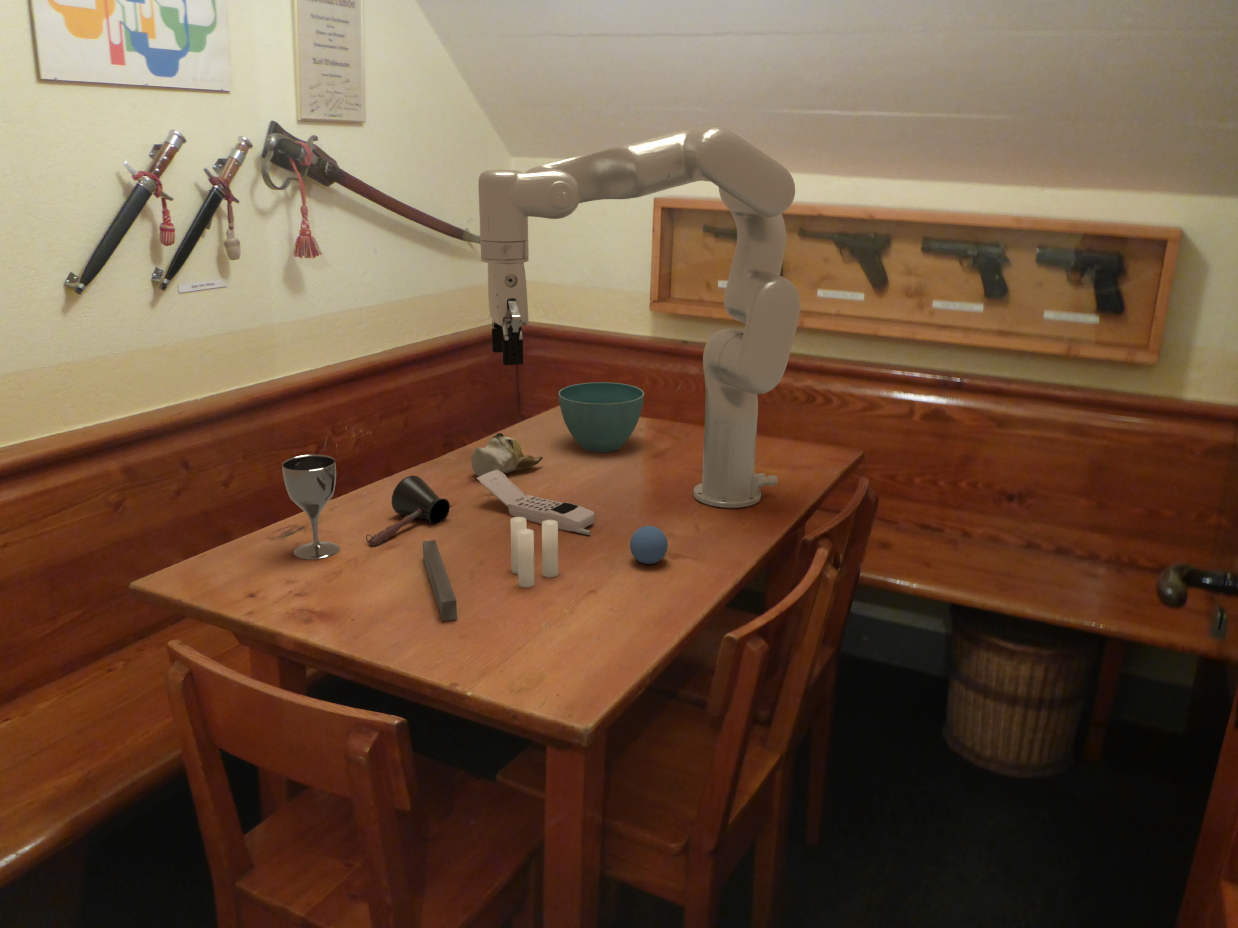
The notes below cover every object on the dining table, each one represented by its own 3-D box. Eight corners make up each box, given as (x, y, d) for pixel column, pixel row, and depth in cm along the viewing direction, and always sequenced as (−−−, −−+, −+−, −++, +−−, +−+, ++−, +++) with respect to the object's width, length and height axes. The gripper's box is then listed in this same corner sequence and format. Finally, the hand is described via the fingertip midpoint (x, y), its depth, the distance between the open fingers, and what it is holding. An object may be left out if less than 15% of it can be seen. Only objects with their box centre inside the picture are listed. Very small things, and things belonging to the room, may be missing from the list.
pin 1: (525, 566, 153) (524, 516, 150) (528, 572, 151) (527, 521, 148) (510, 568, 152) (508, 517, 149) (513, 574, 150) (512, 523, 147)
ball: (659, 552, 159) (660, 518, 157) (672, 567, 153) (674, 532, 151) (624, 556, 157) (625, 522, 155) (636, 572, 151) (637, 536, 149)
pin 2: (532, 579, 148) (531, 527, 146) (536, 586, 146) (535, 533, 143) (516, 581, 148) (515, 529, 145) (520, 588, 145) (519, 535, 143)
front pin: (555, 569, 152) (555, 519, 149) (559, 576, 150) (559, 524, 147) (540, 571, 151) (540, 520, 148) (544, 578, 149) (543, 526, 146)
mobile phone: (495, 468, 180) (606, 495, 167) (497, 498, 182) (606, 527, 169) (473, 477, 176) (585, 506, 162) (475, 508, 178) (586, 539, 164)
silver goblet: (314, 564, 152) (306, 473, 148) (280, 553, 156) (271, 464, 152) (352, 547, 159) (346, 460, 154) (319, 537, 163) (311, 451, 158)
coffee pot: (423, 503, 177) (456, 521, 173) (343, 545, 165) (376, 565, 161) (421, 468, 174) (454, 485, 169) (339, 507, 161) (372, 527, 157)
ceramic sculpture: (455, 434, 189) (504, 421, 202) (455, 477, 192) (503, 462, 204) (499, 444, 184) (546, 430, 196) (498, 488, 186) (544, 472, 199)
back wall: (436, 557, 156) (435, 540, 155) (457, 619, 136) (456, 600, 135) (423, 558, 155) (422, 541, 154) (442, 621, 135) (441, 602, 134)
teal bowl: (612, 465, 200) (613, 408, 196) (541, 450, 209) (541, 394, 206) (658, 444, 215) (659, 390, 211) (590, 430, 224) (590, 378, 220)
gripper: (539, 257, 147) (541, 368, 153) (517, 245, 163) (519, 346, 169) (490, 258, 145) (493, 371, 151) (472, 246, 161) (476, 348, 167)
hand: (507, 358), depth 160 cm, fingers open, 9 cm apart
